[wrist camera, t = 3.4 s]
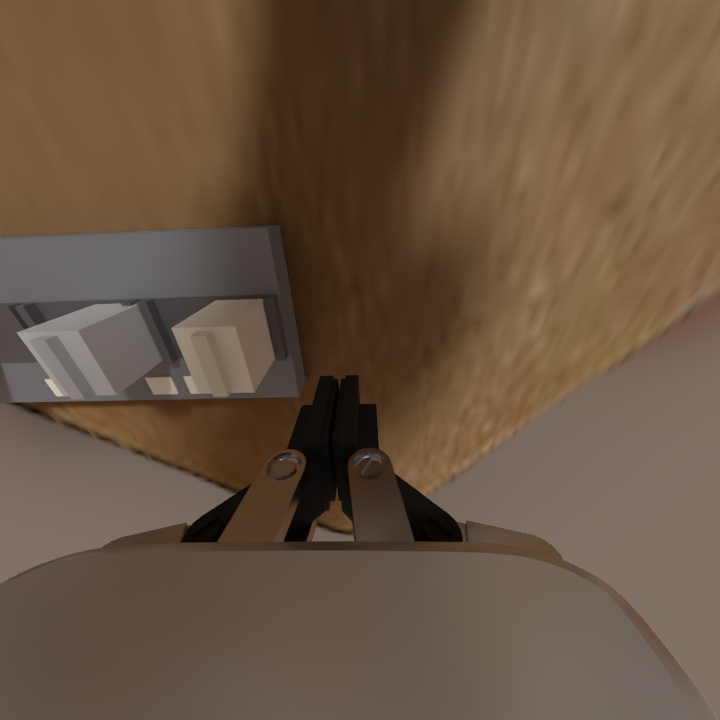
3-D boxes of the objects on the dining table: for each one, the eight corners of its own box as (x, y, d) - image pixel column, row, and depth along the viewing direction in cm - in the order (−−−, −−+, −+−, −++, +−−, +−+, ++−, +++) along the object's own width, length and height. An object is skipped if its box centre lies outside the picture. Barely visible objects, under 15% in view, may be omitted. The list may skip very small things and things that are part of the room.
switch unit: (279, 224, 17) (262, 228, 14) (305, 381, 23) (297, 405, 20) (-98, 241, 18) (-184, 247, 15) (22, 387, 24) (-24, 411, 21)
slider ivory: (265, 298, 17) (229, 331, 12) (277, 354, 19) (250, 399, 14) (216, 300, 17) (163, 333, 13) (233, 355, 19) (192, 400, 15)
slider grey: (143, 302, 17) (65, 335, 13) (167, 356, 19) (108, 401, 15) (95, 304, 17) (2, 337, 13) (124, 357, 19) (52, 402, 15)
